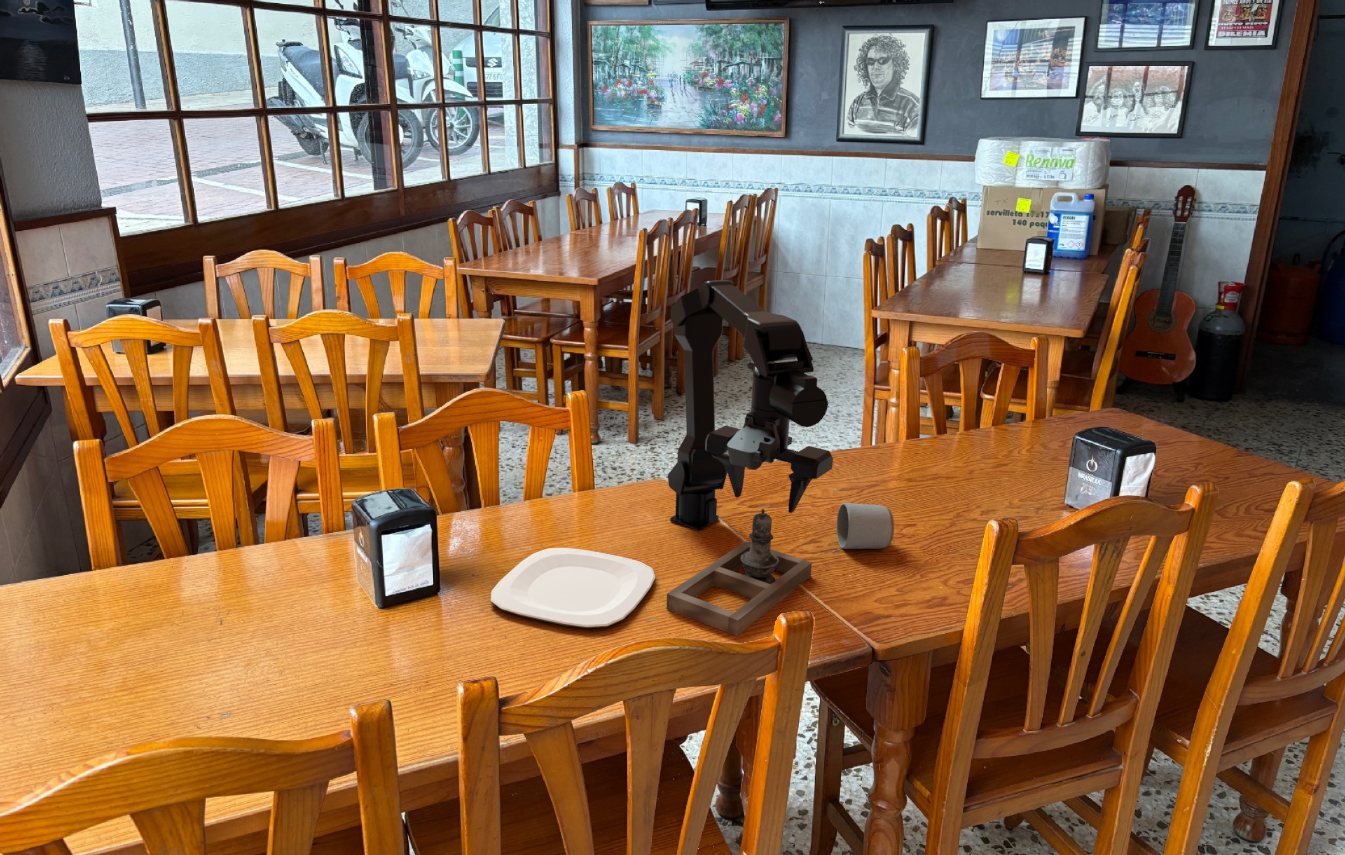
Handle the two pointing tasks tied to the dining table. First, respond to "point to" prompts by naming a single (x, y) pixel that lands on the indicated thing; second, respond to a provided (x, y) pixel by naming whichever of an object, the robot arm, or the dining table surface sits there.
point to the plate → (574, 587)
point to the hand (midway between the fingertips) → (764, 504)
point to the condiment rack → (737, 590)
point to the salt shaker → (760, 550)
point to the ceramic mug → (864, 526)
